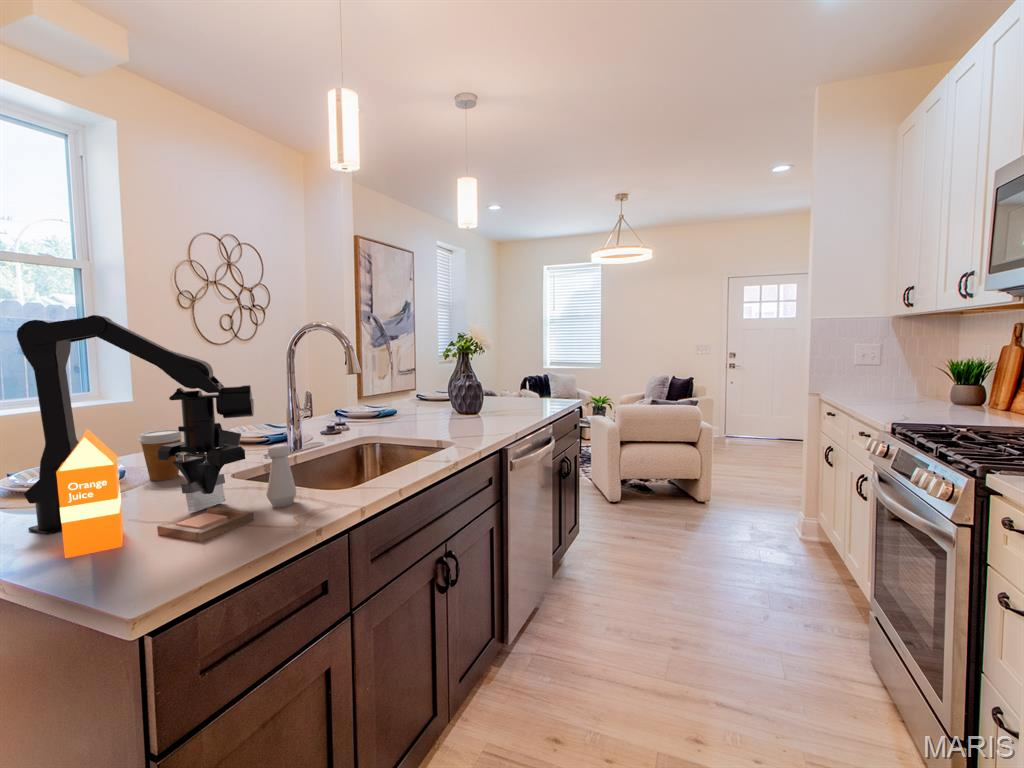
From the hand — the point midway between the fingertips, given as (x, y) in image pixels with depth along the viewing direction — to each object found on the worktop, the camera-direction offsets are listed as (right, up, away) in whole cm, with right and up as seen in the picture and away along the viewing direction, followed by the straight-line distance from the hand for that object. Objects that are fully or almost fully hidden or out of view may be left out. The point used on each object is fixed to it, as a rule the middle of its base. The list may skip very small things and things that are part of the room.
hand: (204, 492), depth 107 cm
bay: (+7, -4, -11) cm, 13 cm away
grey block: (+1, -3, 0) cm, 3 cm away
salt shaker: (+16, -3, +2) cm, 16 cm away
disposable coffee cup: (-27, -2, +26) cm, 37 cm away
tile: (+6, -5, -10) cm, 13 cm away
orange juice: (-8, -5, -18) cm, 20 cm away
